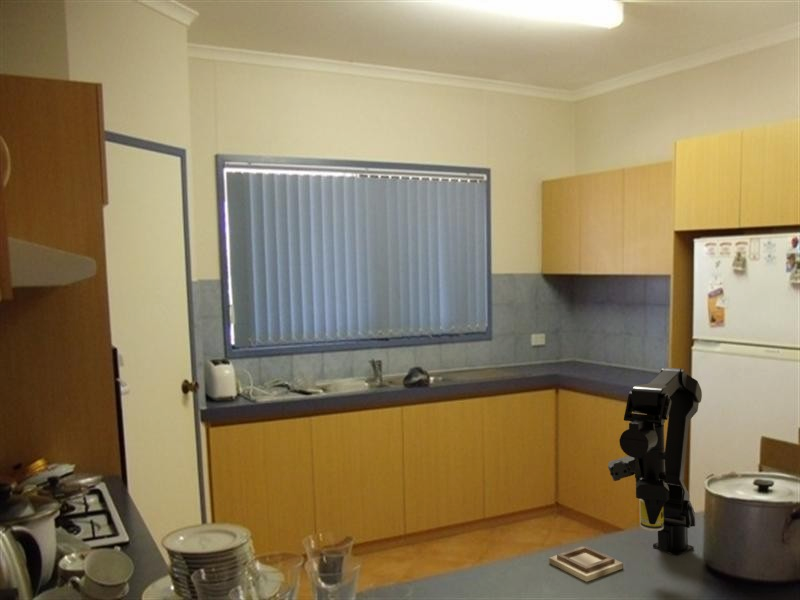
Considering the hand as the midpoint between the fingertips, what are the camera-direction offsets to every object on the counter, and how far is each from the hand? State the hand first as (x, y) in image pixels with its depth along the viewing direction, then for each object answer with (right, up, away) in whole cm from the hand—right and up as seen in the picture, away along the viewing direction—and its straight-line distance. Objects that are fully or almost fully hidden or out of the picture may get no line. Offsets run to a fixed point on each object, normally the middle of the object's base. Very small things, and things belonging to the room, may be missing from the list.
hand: (651, 519), depth 138 cm
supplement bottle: (0, -2, 0) cm, 2 cm away
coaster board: (-13, -12, +5) cm, 18 cm away
